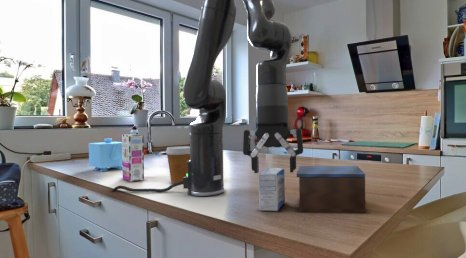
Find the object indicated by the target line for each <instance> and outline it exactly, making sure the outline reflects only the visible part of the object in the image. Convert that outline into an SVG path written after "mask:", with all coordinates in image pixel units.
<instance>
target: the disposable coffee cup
mask: <svg viewBox="0 0 466 258" xmlns="http://www.w3.org/2000/svg"><path fill="white" fill-rule="evenodd" d="M165 154H166V157H167V164H168V169H169V176H170V182H171V184H174V183H177V182H180V181H183V178H184V177H186V176H187V174H188V172H187V162H188V161H189V160H190V145H182V146H181V145H180V146H179V145H178V146H168V147H166V150H165Z"/></svg>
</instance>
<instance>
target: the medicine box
mask: <svg viewBox="0 0 466 258" xmlns="http://www.w3.org/2000/svg"><path fill="white" fill-rule="evenodd" d="M285 181H286V180H285V169H284V168H279V167H278V168H277V167H276V168H272V167H271V168H267V169H266V170H263V171H262V172H261V173H258V204H259V211H263V212H278V211H279V210H280V209H281V208H282V206H283V205H284V204H285V203H286V191H285V189H286V187H285V185H286V183H285Z"/></svg>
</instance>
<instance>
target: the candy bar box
mask: <svg viewBox="0 0 466 258" xmlns="http://www.w3.org/2000/svg"><path fill="white" fill-rule="evenodd" d="M144 141H145V139H144V134H121V142H122V169H121V171H122V173H121V174H122V176H121V177H122V179H124V180H125V181H127V182H129V183H133V182H135V183H136V182H143V181H145V158H144V157H145V149H144V148H145V147H144V145H145V143H144Z"/></svg>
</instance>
